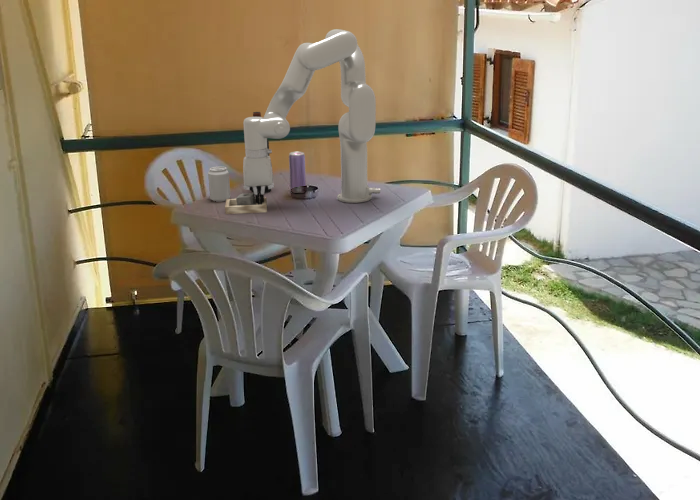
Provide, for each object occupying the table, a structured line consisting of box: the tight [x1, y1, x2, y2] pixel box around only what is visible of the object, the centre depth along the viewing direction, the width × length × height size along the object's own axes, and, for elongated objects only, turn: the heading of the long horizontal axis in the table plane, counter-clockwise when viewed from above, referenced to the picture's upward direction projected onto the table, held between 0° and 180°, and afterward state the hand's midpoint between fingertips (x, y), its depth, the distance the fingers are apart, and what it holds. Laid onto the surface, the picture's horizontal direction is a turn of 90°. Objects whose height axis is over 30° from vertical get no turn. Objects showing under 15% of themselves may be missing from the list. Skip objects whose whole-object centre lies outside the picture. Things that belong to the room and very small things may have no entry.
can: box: [207, 165, 231, 203], centre depth 266 cm, size 8×8×12 cm
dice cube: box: [235, 192, 256, 206], centre depth 255 cm, size 5×5×5 cm
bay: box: [224, 196, 268, 215], centre depth 256 cm, size 14×10×2 cm
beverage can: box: [288, 151, 307, 192], centre depth 274 cm, size 6×6×15 cm
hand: (260, 204), depth 256 cm, fingers closed
